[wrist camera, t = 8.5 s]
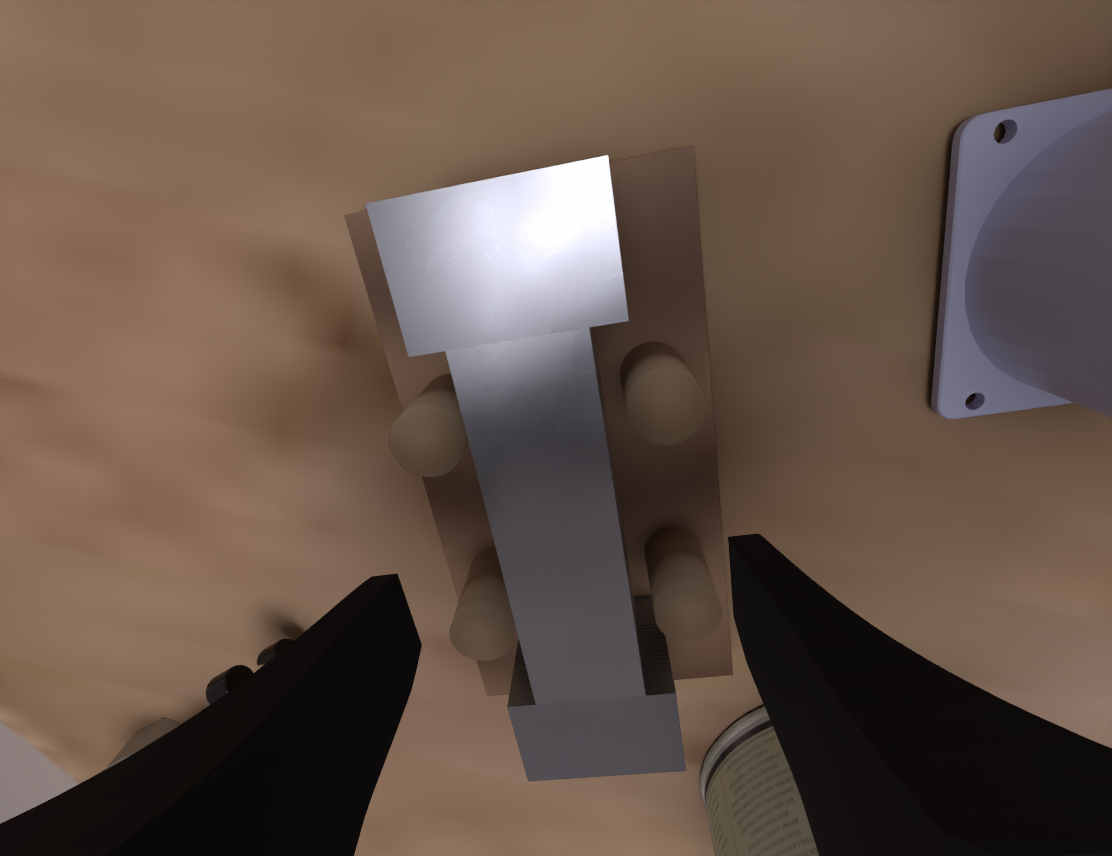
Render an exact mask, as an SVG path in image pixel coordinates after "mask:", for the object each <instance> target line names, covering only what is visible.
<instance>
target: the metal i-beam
mask: <svg viewBox="0 0 1112 856" xmlns="http://www.w3.org/2000/svg"><path fill="white" fill-rule="evenodd" d="M366 208H367V211H368V215H369V218H370V222H371V225H372V229H373V232H374V236H375V239H376V243H377V247H378V250H379V254H380V257H381V261H382V264H383V268H384V271H385V275H386V278H387V282H388V286H389V289H390V293H391V296H392V300H393V303H394V307H395V310H396V314H397V318H398V321H399V325H400V328H401V332H402V335H403V339H404V342H405V346H406V349H407V353H408V357H412V356H418V355H424V354H430V353H436V352H442V351H446V355H447V359H448V363H449V367H450V371H451V375H452V379H453V383H454V387H455V390H456V394H457V398H458V402H459V406H460V410H461V414H462V418H463V422H464V426H465V430H466V434H467V437H468V441H469V445H470V449H471V453H472V457H473V461H474V465H475V469H476V473H477V477H478V481H479V484H480V488H481V492H482V496H483V500H484V504H485V508H486V512H487V516H488V520H489V524H490V528H491V531H492V535H493V539H494V543H495V547H496V551H497V555H498V559H499V563H500V567H501V571H502V574H503V578H504V582H505V586H506V590H507V594H508V598H509V602H510V606H511V610H512V614H513V618H514V621H515V625H516V629H517V633H518V637H519V638H518V645H517V651H516V657H515V663H514V669H513V675H512V681H511V688H510V694H509V700H508V706H507V708H508V711H509V715H510V718H511V722H512V726H513V729H514V733H515V736H516V740H517V743H518V747H519V750H520V754H521V757H522V761H523V765H524V768H525V772H526V775H527V779H528V781H541V780H556V779H571V778H586V777H601V776H616V775H631V774H646V773H661V772H676V771H686V769H685V761H684V753H683V746H682V738H681V730H680V722H679V714H678V706H677V698H676V691H675V686H674V680H673V675H672V669H671V664H670V658H669V653H668V647H667V642H666V636H665V634H664V633H663V632H662V631H661V630H660V629H659V627H658V626H657V623H656V620H655V614H654V608H653V602H652V596H651V595H643V596H634V594H633V587H632V581H631V574H630V567H629V561H628V554H627V547H626V541H625V534H624V528H623V521H622V514H621V508H620V501H619V494H618V488H617V481H616V475H615V468H614V461H613V455H612V448H611V441H610V435H609V428H608V422H607V415H606V408H605V402H604V395H603V388H602V382H601V375H600V369H599V362H598V355H597V349H596V342H595V336H594V329H593V327H595V326H601V325H607V324H613V323H619V322H626V321H629V318H628V310H627V302H626V294H625V286H624V278H623V271H622V263H621V255H620V247H619V239H618V231H617V223H616V215H615V207H614V199H613V191H612V183H611V176H610V168H609V160H608V155H606V156H601V157H596V158H591V159H586V160H581V161H576V162H571V163H566V164H561V165H556V166H551V167H546V168H541V169H536V170H531V171H526V172H521V173H516V174H511V175H506V176H501V177H496V178H491V179H486V180H481V181H476V182H471V183H466V184H461V185H456V186H451V187H446V188H441V189H436V190H431V191H426V192H421V193H416V194H411V195H406V196H401V197H396V198H391V199H386V200H381V201H376V202H371V203H366Z"/></svg>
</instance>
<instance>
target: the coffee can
mask: <svg viewBox="0 0 1112 856" xmlns="http://www.w3.org/2000/svg"><path fill="white" fill-rule="evenodd" d="M700 791H701V796H702V800H703V803H704V806H705V809H706V813H707V818H708V822H709V827H710V832H711V838H712V843H713V848H714V853H715V856H819V854H818V851H817V847H816V844H815V841H814V838H813V835H812V831H811V828H810V825H809V822H808V819H807V815H806V812H805V809H804V806H803V803H802V799H801V796H800V794H799V791H798V788H797V785H796V783H795V780H794V777H793V775H792V772H791V769H790V767H789V764H788V762H787V760H786V757H785V755H784V752H783V750H782V747H781V745H780V743H779V740H778V738H777V735H776V733H775V730H774V728H773V726H772V723H771V721H770V718H769V716H768V713H767V711H766V709H765V706H762V707H760V708H758V709H756V710H754V711H752V712H750V713H748V714H747V715H745V716H744V717H742V718H740V719H739V720H737V721H736V722H735V723H734V724H733V725H731V726H730V727H729V728H728V729H727V730H726V731H725V732H724V733H723V734H722V735H721V736H720V737H719V738H718V739H717V740H716V742H715V743H714V744H713V746H712V747H711V749H710V750H709V751H708V753H707V755H706V758H705V761H704V764H703V768H702V771H701V776H700Z"/></svg>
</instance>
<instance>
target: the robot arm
mask: <svg viewBox="0 0 1112 856" xmlns="http://www.w3.org/2000/svg"><path fill="white" fill-rule="evenodd" d="M1000 122H1001V123H1002V124H1003V125H1004V126H1005V130H1006V132H1005V135H1004V138H1003V139H1002V140H1001V141H1000V142H999V143H997V142H996V141H995V140H994V131H995V128H996V127H997V126H998V125H999V123H1000ZM973 393H975V394H976V396H975V399H974V401H972V402H971V403H970V404H968V405H965V402H966V399H967V398H968V397H969V396H970V395H971V394H973ZM1071 403H1076V404H1078V405H1081V406H1083V407H1086V408H1088V409H1091V410H1093V411H1096V412H1098V413H1101V414H1103V415H1106V416H1108V417H1111V418H1112V88H1111V89H1106V90H1101V91H1096V92H1091V93H1086V94H1080V95H1075V96H1070V97H1065V98H1060V99H1055V100H1050V101H1044V102H1039V103H1034V104H1029V105H1024V106H1019V107H1013V108H1008V109H1003V110H998V111H993V112H988V113H983V114H979V115H975V116H973V117H970V118H968V119H966V120H965V121H964V122H963V123H962V124H960V126H959V127H958V129H957V130H956V132H955V134H954V138H953V142H952V154H951V166H950V178H949V190H948V203H947V215H946V227H945V239H944V252H943V264H942V276H941V288H940V300H939V313H938V325H937V337H936V349H935V362H934V374H933V386H932V398H931V405H932V409H933V410H934V411H935V413H937V414H939V415H940V416H942V417H944V418H946V419H959V418H966V417H974V416H981V415H989V414H996V413H1004V412H1011V411H1018V410H1026V409H1033V408H1041V407H1048V406H1056V405H1063V404H1071ZM728 541H729V556H730V570H731V585H732V599H733V613H734V619H735V623H736V626H737V630H738V633H739V637H740V641H741V644H742V648H743V651H744V655H745V658H746V661H747V664H748V667H749V669H750V672H751V674H752V677H753V679H754V682H755V684H756V686H757V689H758V691H759V694H760V696H761V699H762V701H763V704H764V706H765V709H766V711H767V713H768V716H769V718H770V721H771V723H772V726H773V728H774V730H775V733H776V735H777V738H778V740H779V743H780V745H781V747H782V750H783V752H784V755H785V757H786V760H787V762H788V764H789V767H790V769H791V772H792V775H793V777H794V780H795V783H796V785H797V788H798V791H799V794H800V796H801V799H802V803H803V806H804V809H805V812H806V815H807V819H808V822H809V825H810V828H811V831H812V835H813V838H814V841H815V844H816V847H817V851H818V854H819V856H1112V748H1109V747H1107V746H1104V745H1102V744H1099V743H1097V742H1094V741H1092V740H1090V739H1087V738H1085V737H1083V736H1080V735H1078V734H1076V733H1074V732H1071V731H1069V730H1067V729H1065V728H1062V727H1060V726H1058V725H1056V724H1054V723H1051V722H1049V721H1047V720H1045V719H1042V718H1040V717H1038V716H1036V715H1033V714H1031V713H1029V712H1027V711H1025V710H1023V709H1021V708H1019V707H1017V706H1015V705H1012V704H1010V703H1008V702H1006V701H1004V700H1002V699H1000V698H998V697H996V696H994V695H992V694H990V693H988V692H986V691H984V690H983V689H981V688H979V687H977V686H975V685H973V684H971V683H969V682H967V681H965V680H963V679H961V678H960V677H958V676H956V675H954V674H952V673H950V672H948V671H947V670H945V669H943V668H941V667H939V666H938V665H936V664H934V663H932V662H931V661H929V660H927V659H925V658H924V657H922V656H921V655H919V654H917V653H916V652H914V651H912V650H911V649H909V648H907V647H906V646H904V645H902V644H901V643H899V642H898V641H896V640H894V639H893V638H891V637H889V636H888V635H886V634H885V633H883V632H882V631H880V630H879V629H877V628H876V627H874V626H873V625H871V624H870V623H869V622H867V621H866V620H864V619H863V618H862V617H860V616H859V615H857V614H856V613H854V612H853V611H852V610H850V609H849V608H848V607H846V606H845V605H844V604H842V603H841V602H840V601H838V600H837V599H836V598H835V597H833V596H832V595H831V594H830V593H828V592H827V591H826V590H825V589H823V588H822V587H821V586H819V585H818V584H817V583H816V582H814V581H813V580H812V579H811V578H810V577H808V576H807V575H806V574H805V573H804V572H802V571H801V570H800V569H799V568H798V567H797V566H795V565H794V564H793V563H792V562H791V561H790V560H788V559H787V558H786V557H785V556H784V555H783V554H782V553H781V552H779V551H778V550H777V549H776V548H775V547H774V546H773V545H772V544H771V543H769V542H768V541H767V540H766V539H765V538H764V537H762V536H761V535H760V534H751V535H742V536H732V537H728ZM421 646H422V644H421V641H420V638H419V635H418V632H417V629H416V627H415V624H414V621H413V618H412V615H411V612H410V609H409V606H408V603H407V600H406V597H405V594H404V592H403V589H402V586H401V583H400V580H399V577H398V574H390V575H381V576H372V577H370V578H369V579H368V580H366V581H365V582H364V583H362V584H361V585H360V586H359V587H357V588H356V589H355V590H354V591H352V592H351V593H350V594H349V595H348V596H346V597H345V598H344V599H343V600H342V601H341V602H339V603H338V604H337V605H336V606H335V607H334V608H332V609H331V610H330V611H329V612H328V613H327V614H325V615H324V616H323V617H322V618H321V619H320V620H318V621H317V622H316V623H315V624H314V625H312V626H311V627H310V628H309V629H308V630H307V631H305V632H304V633H303V634H302V635H301V636H300V637H298V638H297V639H296V640H295V641H294V642H292V643H291V644H290V645H289V646H287V647H286V648H285V649H284V650H282V651H281V652H280V653H279V654H277V655H276V656H275V657H274V658H272V659H271V660H270V661H269V662H267V663H266V664H265V665H264V666H262V667H261V668H260V669H259V670H257V671H256V672H255V673H254V674H252V675H251V676H250V677H248V678H247V679H246V680H244V681H243V682H242V683H240V684H239V685H238V686H236V687H235V688H234V689H232V690H231V691H229V692H228V693H227V694H225V695H224V696H222V697H221V698H220V699H218V700H217V701H215V702H214V703H212V704H211V705H209V706H208V707H206V708H205V709H204V710H202V711H201V712H199V713H198V714H196V715H195V716H193V717H192V718H190V719H189V720H187V721H186V722H184V723H182V724H181V725H179V726H178V727H176V728H174V729H173V730H171V731H170V732H168V733H166V734H165V735H163V736H161V737H160V738H158V739H157V740H155V741H153V742H152V743H150V744H148V745H147V746H145V747H144V748H142V749H140V750H139V751H137V752H136V753H134V754H132V755H131V756H129V757H127V758H125V759H124V760H122V761H120V762H118V763H117V764H115V765H113V766H111V767H110V768H108V769H106V770H104V771H102V772H101V773H99V774H97V775H95V776H94V777H92V778H90V779H88V780H86V781H84V782H82V783H80V784H79V785H77V786H75V787H73V788H71V789H69V790H67V791H66V792H64V793H62V794H60V795H58V796H56V797H54V798H52V799H50V800H48V801H46V802H44V803H42V804H40V805H38V806H36V807H34V808H32V809H30V810H28V811H26V812H24V813H22V814H20V815H18V816H16V817H14V818H12V819H9V820H8V821H5V822H3V823H1V824H0V856H354V853H355V850H356V846H357V843H358V839H359V835H360V832H361V828H362V824H363V821H364V818H365V815H366V812H367V809H368V806H369V803H370V800H371V797H372V794H373V792H374V789H375V786H376V784H377V781H378V778H379V776H380V773H381V770H382V768H383V765H384V762H385V760H386V757H387V755H388V752H389V749H390V747H391V744H392V741H393V739H394V736H395V733H396V731H397V728H398V725H399V723H400V720H401V717H402V715H403V712H404V709H405V706H406V704H407V701H408V698H409V695H410V692H411V690H412V686H413V682H414V678H415V674H416V670H417V665H418V660H419V656H420V651H421Z"/></svg>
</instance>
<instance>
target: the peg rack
mask: <svg viewBox="0 0 1112 856" xmlns="http://www.w3.org/2000/svg"><path fill="white" fill-rule="evenodd" d="M609 168H610V176H611V183H612V191H613V199H614V207H615V215H616V223H617V231H618V239H619V247H620V255H621V263H622V271H623V278H624V286H625V294H626V302H627V310H628V318H629V321H626V322H619V323H613V324H607V325H601V326H595V327H593V329H594V336H595V342H596V349H597V355H598V362H599V369H600V375H601V382H602V388H603V395H604V402H605V408H606V415H607V422H608V428H609V435H610V441H611V448H612V455H613V461H614V468H615V475H616V481H617V488H618V494H619V501H620V508H621V514H622V521H623V528H624V534H625V541H626V547H627V554H628V561H629V567H630V574H631V581H632V587H633V594H634V596H643V595H651V596H652V602H653V608H654V614H655V620H656V623H657V626H658V627H659V629H660V630H661V631H662V632H663V633H664V634H665V636H666V642H667V647H668V653H669V658H670V664H671V669H672V675H673V680H678V679H690V678H701V677H713V676H725V675H733V669H732V656H731V642H730V629H729V616H728V602H727V589H726V575H725V562H724V548H723V535H722V521H721V508H720V495H719V481H718V468H717V454H716V441H715V427H714V414H713V400H712V387H711V374H710V360H709V347H708V333H707V320H706V306H705V293H704V279H703V266H702V253H701V239H700V226H699V212H698V199H697V185H696V172H695V158H694V146H690V147H685V148H680V149H675V150H670V151H665V152H660V153H655V154H650V155H645V156H640V157H635V158H630V159H625V160H620V161H615V162H610V163H609ZM344 216H345V219H346V223H347V226H348V229H349V233H350V236H351V240H352V243H353V246H354V250H355V253H356V256H357V260H358V263H359V266H360V270H361V273H362V276H363V280H364V283H365V287H366V290H367V293H368V297H369V300H370V303H371V307H372V310H373V313H374V317H375V320H376V323H377V327H378V330H379V334H380V337H381V340H382V344H383V347H384V350H385V354H386V357H387V360H388V364H389V367H390V371H391V374H392V377H393V381H394V384H395V387H396V391H397V394H398V397H399V401H400V404H401V407H402V411H403V413H402V414H401V415H400V416H399V418H398V419H397V420H396V421H395V422H394V424H393V426H392V428H391V430H390V435H389V443H390V448H391V451H392V454H393V455H394V457H395V459H396V460H397V461H398V463H399V464H400V465H401V466H402V467H404V468H405V469H406V470H408V471H409V472H411V473H413V474H416V475H419V476H422V478H423V481H424V485H425V488H426V491H427V495H428V498H429V502H430V505H431V508H432V512H433V515H434V518H435V522H436V525H437V528H438V532H439V535H440V538H441V542H442V545H443V549H444V552H445V555H446V559H447V562H448V565H449V569H450V572H451V575H452V579H453V582H454V585H455V589H456V592H457V596H458V599H459V603H458V606H457V609H456V612H455V615H454V618H453V621H452V624H451V628H450V639H451V642H452V644H453V645H454V647H455V648H456V649H457V650H458V651H459V652H460V653H462V654H463V655H465V656H467V657H469V658H472V659H475V660H477V663H478V666H479V669H480V673H481V676H482V680H483V683H484V686H485V690H486V693H487V696H494V695H505V694H510V688H511V681H512V675H513V669H514V663H515V657H516V651H517V645H518V638H519V637H518V633H517V629H516V625H515V621H514V618H513V614H512V610H511V606H510V602H509V598H508V594H507V590H506V586H505V582H504V578H503V574H502V571H501V567H500V563H499V559H498V555H497V551H496V547H495V543H494V539H493V535H492V531H491V528H490V524H489V520H488V516H487V512H486V508H485V504H484V500H483V496H482V492H481V488H480V484H479V481H478V477H477V473H476V469H475V465H474V461H473V457H472V453H471V449H470V445H469V441H468V437H467V434H466V430H465V426H464V422H463V418H462V414H461V410H460V406H459V402H458V398H457V394H456V390H455V387H454V383H453V379H452V375H451V371H450V367H449V363H448V359H447V355H446V351H442V352H436V353H430V354H424V355H418V356H412V357H408V353H407V349H406V346H405V342H404V339H403V335H402V332H401V328H400V325H399V321H398V318H397V314H396V310H395V307H394V303H393V300H392V296H391V293H390V289H389V286H388V282H387V278H386V275H385V271H384V268H383V264H382V261H381V257H380V254H379V250H378V247H377V243H376V239H375V236H374V232H373V229H372V225H371V222H370V218H369V215H368V211H364V212H359V213H353V214H348V215H344Z"/></svg>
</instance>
